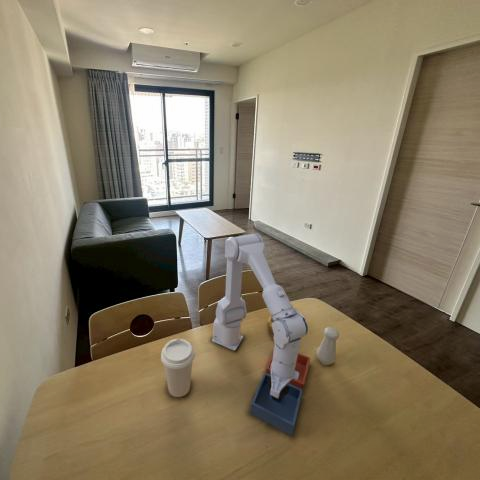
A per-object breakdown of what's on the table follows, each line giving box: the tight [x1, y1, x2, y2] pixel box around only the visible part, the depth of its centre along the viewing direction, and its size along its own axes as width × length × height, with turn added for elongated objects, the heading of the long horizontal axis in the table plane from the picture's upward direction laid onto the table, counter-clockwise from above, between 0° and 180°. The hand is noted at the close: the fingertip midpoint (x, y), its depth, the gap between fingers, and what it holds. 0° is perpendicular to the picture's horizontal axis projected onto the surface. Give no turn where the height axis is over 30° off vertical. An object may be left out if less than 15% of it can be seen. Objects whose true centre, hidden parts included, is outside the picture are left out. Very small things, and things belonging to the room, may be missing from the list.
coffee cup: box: [160, 338, 196, 398], centre depth 73 cm, size 10×10×15 cm
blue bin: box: [249, 372, 304, 437], centre depth 70 cm, size 11×11×4 cm
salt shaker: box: [316, 326, 340, 367], centre depth 83 cm, size 6×6×13 cm
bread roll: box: [267, 315, 274, 338], centre depth 96 cm, size 13×10×8 cm
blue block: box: [269, 383, 289, 406], centre depth 68 cm, size 4×4×5 cm
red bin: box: [265, 350, 311, 393], centre depth 80 cm, size 11×11×4 cm
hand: (278, 393), depth 69 cm, fingers closed on blue block, 4 cm apart
